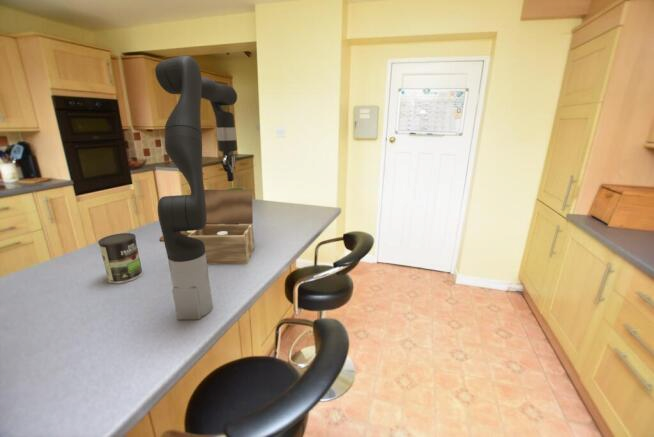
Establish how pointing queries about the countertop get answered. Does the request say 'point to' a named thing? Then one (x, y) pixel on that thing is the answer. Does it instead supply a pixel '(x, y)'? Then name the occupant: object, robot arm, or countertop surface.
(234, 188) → the plant pot
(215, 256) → the wooden box
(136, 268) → the coffee can
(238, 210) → the lid
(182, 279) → the robot arm
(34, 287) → the countertop surface
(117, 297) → the countertop surface
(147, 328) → the countertop surface
